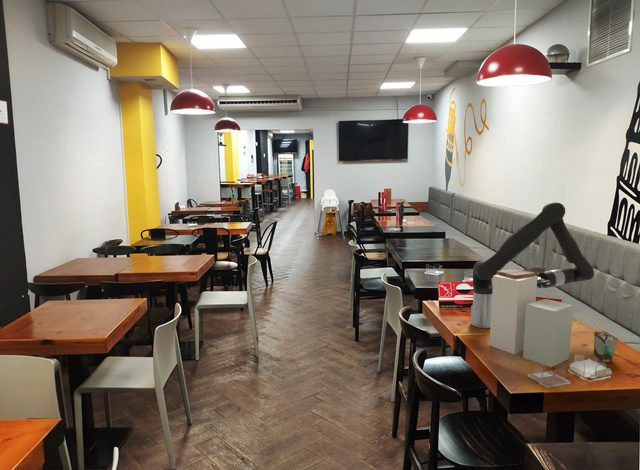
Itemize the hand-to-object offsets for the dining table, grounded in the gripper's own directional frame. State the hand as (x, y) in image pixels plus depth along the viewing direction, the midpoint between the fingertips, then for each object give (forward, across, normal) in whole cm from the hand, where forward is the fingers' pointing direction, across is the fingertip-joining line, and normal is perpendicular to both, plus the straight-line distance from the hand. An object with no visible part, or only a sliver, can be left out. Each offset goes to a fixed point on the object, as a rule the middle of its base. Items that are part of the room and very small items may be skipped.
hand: (520, 283), depth 213 cm
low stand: (+5, +21, +27) cm, 35 cm away
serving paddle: (+1, +6, -6) cm, 8 cm away
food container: (-18, +28, +30) cm, 45 cm away
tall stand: (+11, +7, +25) cm, 29 cm away
